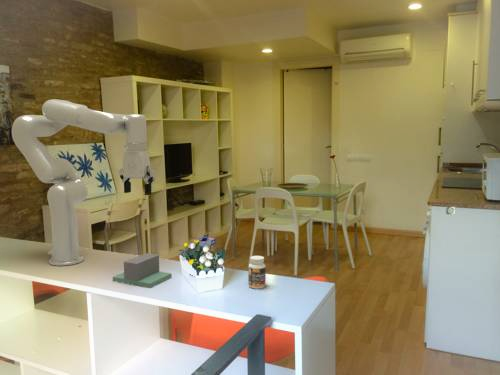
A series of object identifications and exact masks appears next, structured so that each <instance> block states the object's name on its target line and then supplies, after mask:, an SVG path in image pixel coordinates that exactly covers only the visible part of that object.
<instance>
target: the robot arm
mask: <svg viewBox="0 0 500 375" xmlns="http://www.w3.org/2000/svg"><path fill="white" fill-rule="evenodd" d="M41 112H42V114H43V115H41V114H40V115H37V114H25V115H24V114H23V115H20V116H18V117H17V118H16V119H15V120H14V121H13V123H12V126H11V137H12V141H13V143H14V144H15V146H16V148H18V150H19V151H20V153H21V154H22V155H23V157H24V158H25V159H26V161H27V163H28V165H29V166H30V167H31V170H32V171H33V173H34V174H35V176H36V177H37V178H38V180H39V181H40V182H42V183H44V184H53V185H52V186H50V187H49V189H48V190H47V193H46V194H47V195H46V198H47V203H48V207H49V212H50V222H51V223H50V224H51V225H50V226H51V240H52V243H51V244H52V248H50V251H47V255H51V258H50V259H49V260H48V262H49V264H50V265H51V266H58V267H60V266H62V267H63V266H72V265H77V264H79V263H81V262H83V261H84V256H83V255H80V249H79V248H80V247H79V225H78V214H77V210H76V209H75V205H76V204H79V203H82V202H83V201H85V200H87V197H88V188H87V184H86V183H85V181H84V180H83V178H82V177H81V176H80V174H79V172H78V171H77V170H76V168H75V166H74V165H73V163H71V162H70V161H69V159H66V158H63V157H56V158H55V157H53V155H52V154H51V153H50V151H49V150H48V148H47V147H46V146H45V144H43V142H41V141H40V140H39V139H38V138H42V137H44V138H46V137H51V136H54V135H55V134H56V133H58V132H60V131H61V130H62V129H64V128H65V127H67V126H73V127H75V128H76V127H77V128H80V129H85V130H87V131H92V132H96V133H101V134H105V135H125V144H124V146H123V147H124V148H125V151H124V152H123V158H122V168H120V169H119V170H117V171H118V174H119V178H120V179H121V181H122V183H123V193H124V194H129V193H131V192H132V184H131V180H132V179H136V180H140V179H143V181H144V182H145V184H144V187H143V188H144V195H151V194H152V184H153V183H154V181H155V179H156V177H157V171H156V170H154V169H152V168H151V160H150V155H149V152H148V144H147V139H148V138H147V137H148V136H147V117H146V116H145V115H144V114H139V113H138V114H135V113H134V114H133V113H132V114H131V113H130V114H121V113H113V112H105V111H100V110H94V109H91V108H88V106H87V105H85V104H79V103H75V102H71V101H70V100H64V99H57V98H53V99H48V100H46V101H45V102H44V103H43V104H42V106H41ZM54 183H55V184H54Z"/></svg>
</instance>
